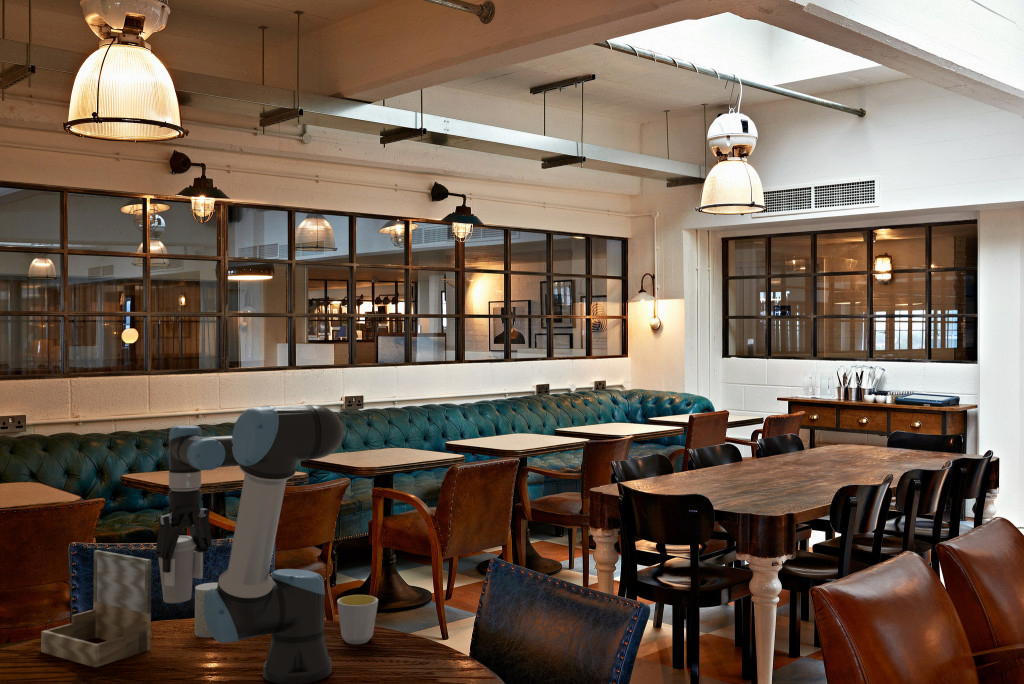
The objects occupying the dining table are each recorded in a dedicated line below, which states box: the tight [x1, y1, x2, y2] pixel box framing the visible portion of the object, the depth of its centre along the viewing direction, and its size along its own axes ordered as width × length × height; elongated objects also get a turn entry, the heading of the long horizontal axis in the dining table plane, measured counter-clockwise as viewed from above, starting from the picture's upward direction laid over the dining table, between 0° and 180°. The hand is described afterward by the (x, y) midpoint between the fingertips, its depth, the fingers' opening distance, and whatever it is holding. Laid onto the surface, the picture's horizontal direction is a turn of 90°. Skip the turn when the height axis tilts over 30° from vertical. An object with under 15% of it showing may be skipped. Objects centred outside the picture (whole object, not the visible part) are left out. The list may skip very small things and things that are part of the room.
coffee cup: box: [157, 535, 196, 604], centre depth 230 cm, size 10×10×15 cm
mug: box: [336, 594, 379, 645], centre depth 237 cm, size 14×10×10 cm
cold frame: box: [40, 549, 152, 668], centre depth 227 cm, size 21×16×22 cm
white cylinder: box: [194, 582, 218, 638], centre depth 241 cm, size 8×8×12 cm
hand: (183, 581), depth 228 cm, fingers closed on coffee cup, 8 cm apart
